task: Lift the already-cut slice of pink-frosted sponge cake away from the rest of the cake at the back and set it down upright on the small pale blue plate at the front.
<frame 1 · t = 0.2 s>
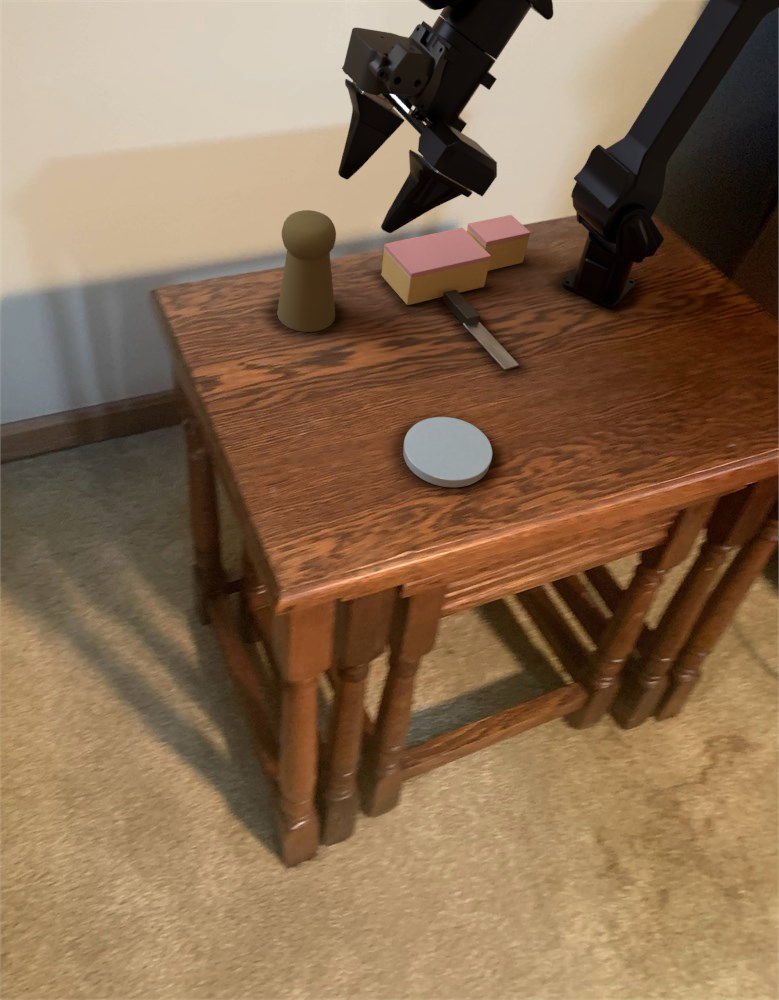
hand: (363, 203, 75), 15 cm above the table, tool tilted 30°, fingers open, 9 cm apart
pepper mill: (306, 315, 88), on the table
plate: (446, 455, 76), on the table
cake: (432, 281, 94), on the table
cake slice: (492, 258, 98), on the table
knife: (477, 331, 88), on the table
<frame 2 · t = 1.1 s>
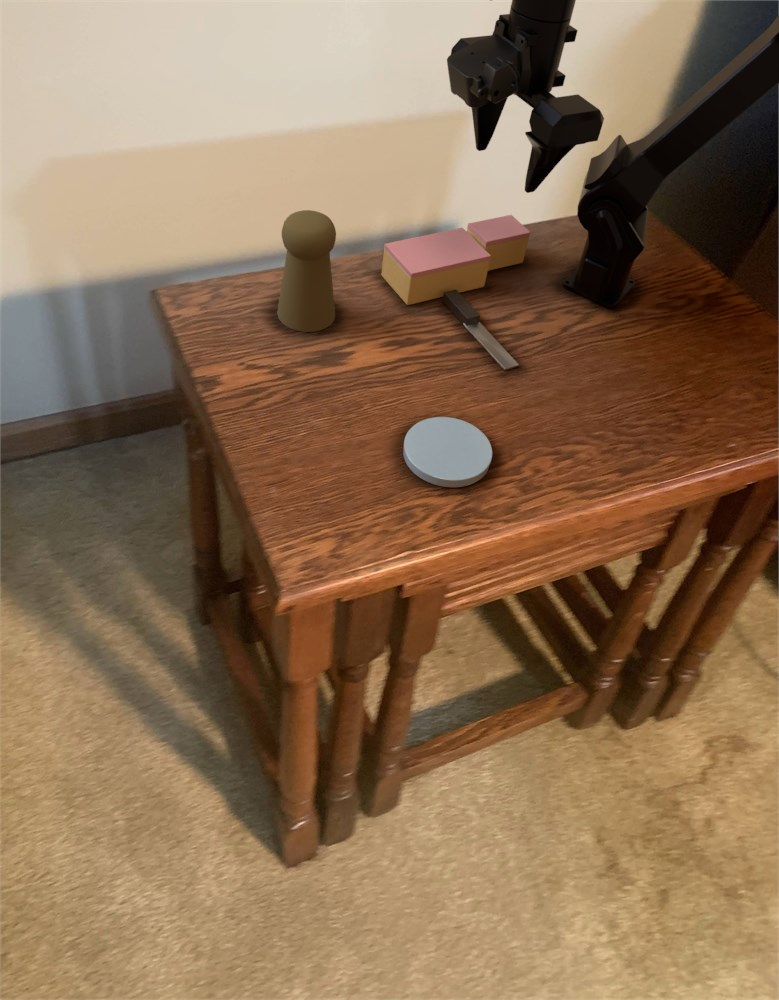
hand: (504, 170, 89), 11 cm above the table, tool pointing down, fingers open, 9 cm apart
nothing on the table moved.
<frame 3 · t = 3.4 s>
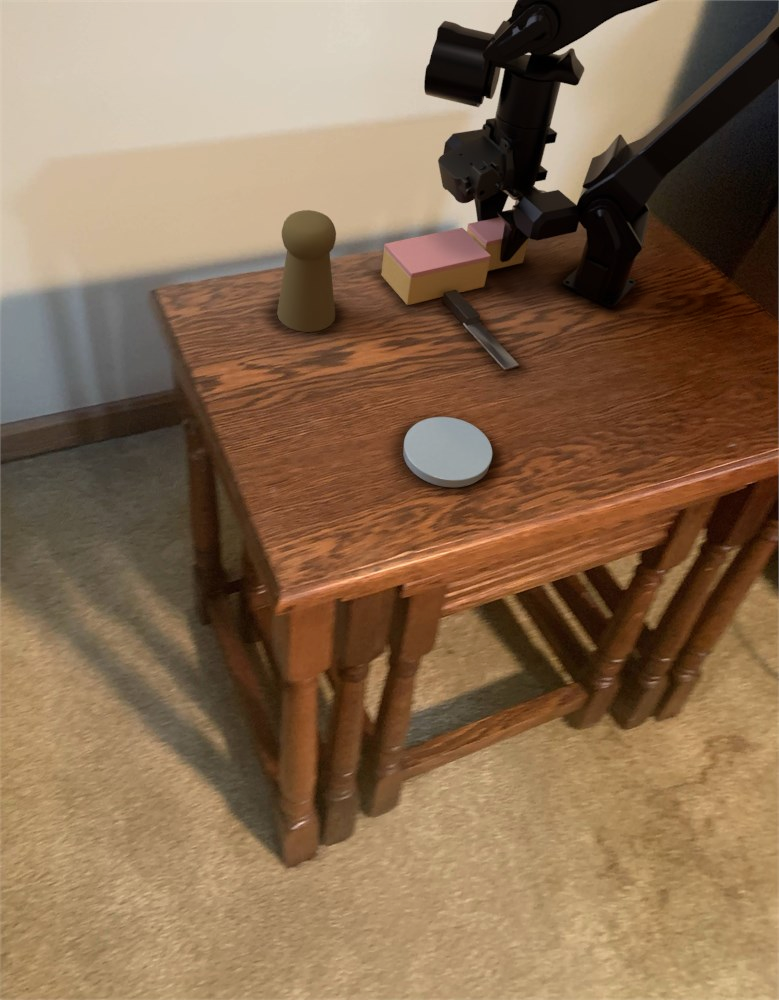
hand: (494, 250, 97), 1 cm above the table, tool pointing down, fingers closed on cake slice, 4 cm apart
cake slice: (492, 258, 98), on the table, touching gripper
everything else where it was.
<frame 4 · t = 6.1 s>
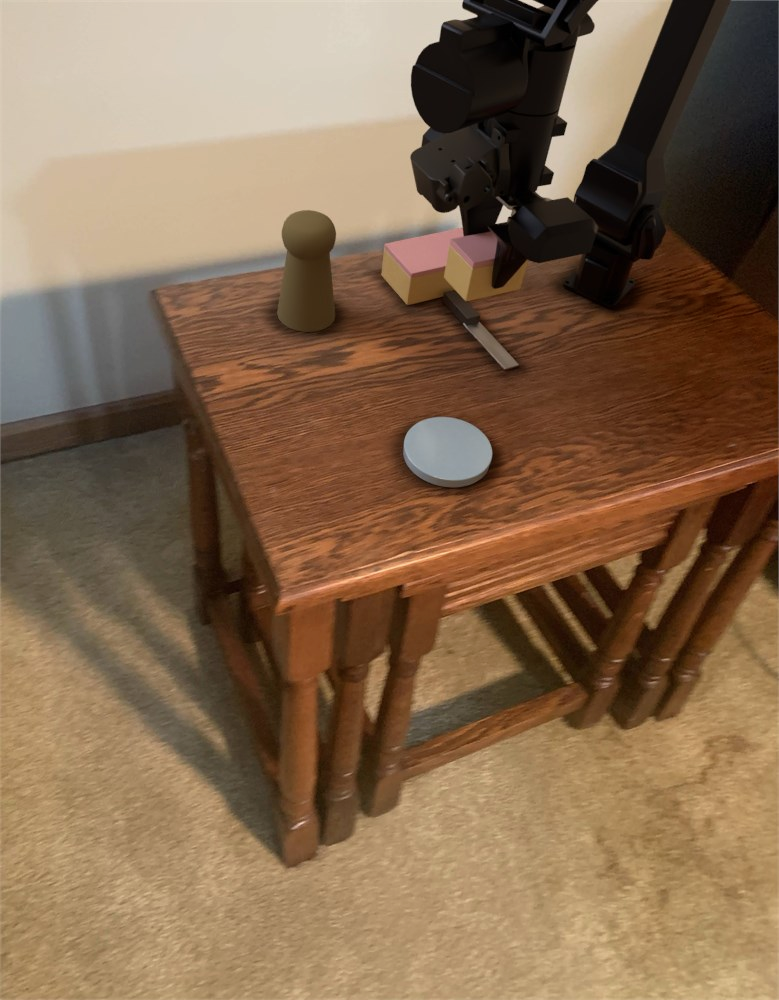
hand: (484, 274, 76), 11 cm above the table, tool pointing down, fingers closed on cake slice, 4 cm apart
cake slice: (482, 283, 77), point 10 cm above the table, touching gripper
everything else where it was.
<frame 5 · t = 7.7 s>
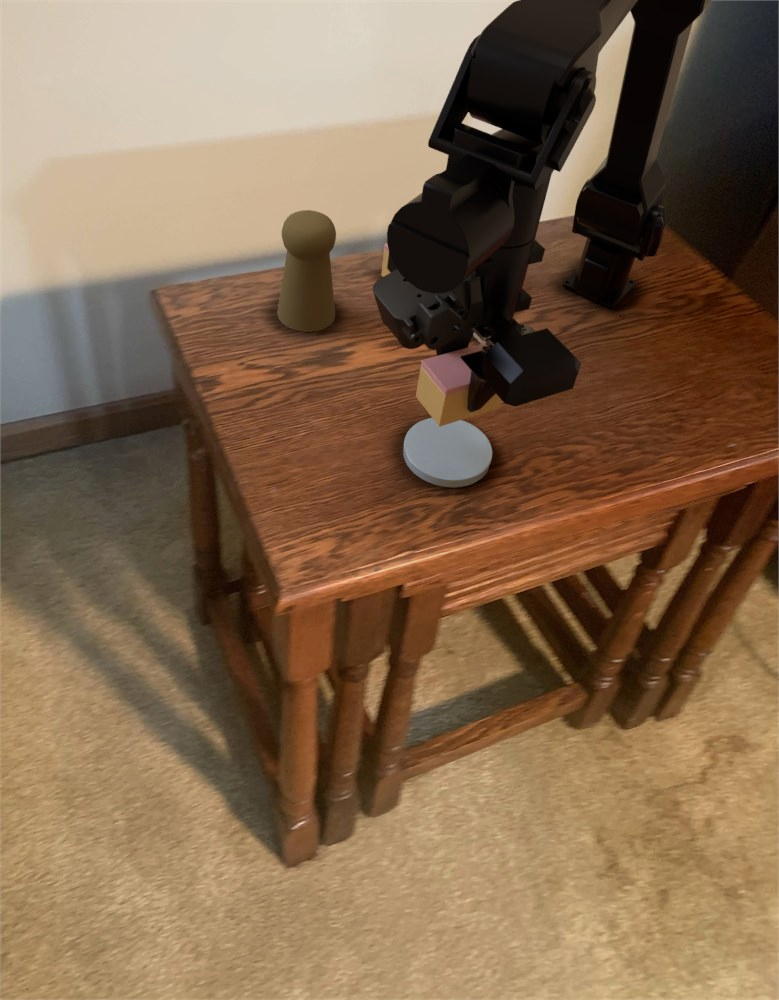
hand: (460, 393, 70), 7 cm above the table, tool pointing down, fingers closed on cake slice, 4 cm apart
cake slice: (457, 402, 71), point 6 cm above the table, touching gripper
everything else where it was.
when the fingers open (2 cm above the table, at t = 9.3 s): cake slice stays where it is, resting on plate.
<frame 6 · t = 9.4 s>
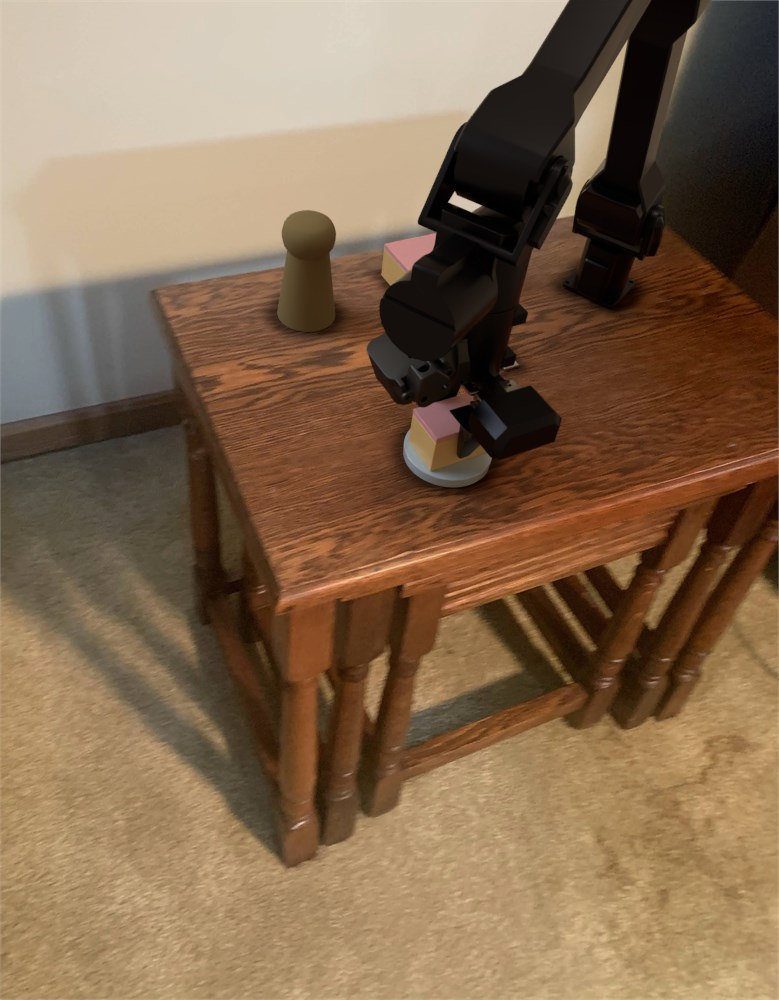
hand: (450, 439, 74), 2 cm above the table, tool pointing down, fingers open, 4 cm apart
cake slice: (447, 447, 75), point 1 cm above the table, touching plate
everything else where it was.
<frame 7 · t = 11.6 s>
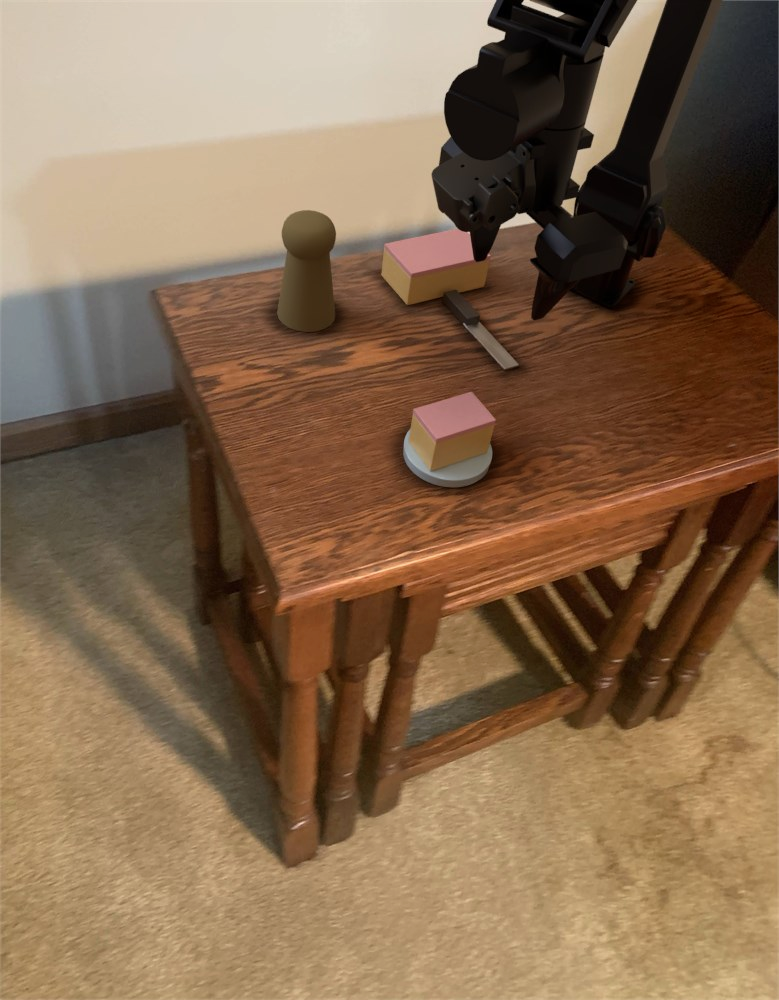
hand: (507, 288, 74), 11 cm above the table, tool pointing down, fingers open, 9 cm apart
nothing on the table moved.
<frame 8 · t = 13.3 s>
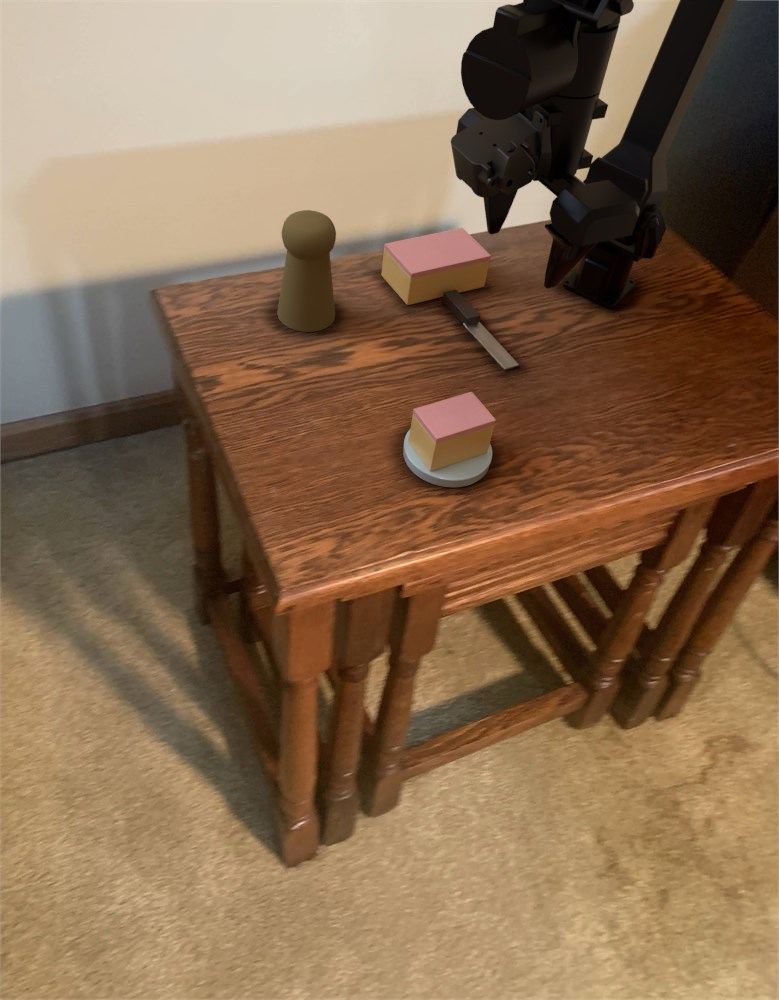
hand: (520, 259, 76), 12 cm above the table, tool pointing down, fingers open, 9 cm apart
nothing on the table moved.
at the end: cake slice 0.0 cm off-centre on the plate, point 1.0 cm above the plate's base; cake slice tilted 0°; the gripper is holding nothing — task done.
